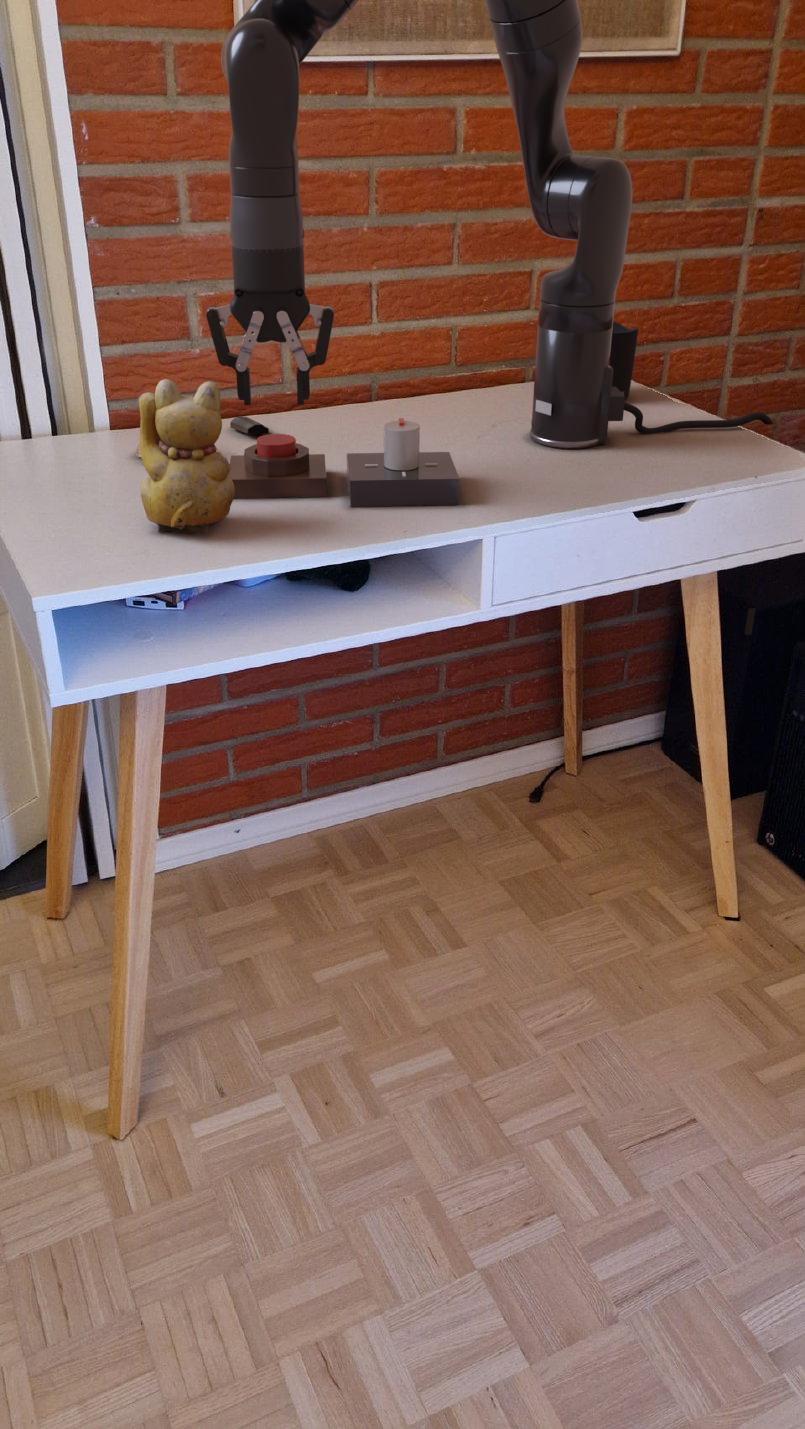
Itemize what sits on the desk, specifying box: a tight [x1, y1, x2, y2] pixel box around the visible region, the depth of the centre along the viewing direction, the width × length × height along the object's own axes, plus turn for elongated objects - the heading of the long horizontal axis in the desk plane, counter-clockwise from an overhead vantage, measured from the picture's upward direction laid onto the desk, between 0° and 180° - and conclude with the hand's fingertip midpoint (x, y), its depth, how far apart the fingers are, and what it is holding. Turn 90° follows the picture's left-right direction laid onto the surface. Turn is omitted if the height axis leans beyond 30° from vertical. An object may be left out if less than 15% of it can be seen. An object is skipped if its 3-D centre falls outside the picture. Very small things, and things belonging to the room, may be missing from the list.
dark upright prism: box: [609, 320, 640, 401], centre depth 169 cm, size 9×9×10 cm
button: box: [256, 433, 297, 458], centre depth 134 cm, size 4×4×2 cm
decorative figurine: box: [138, 378, 235, 535], centre depth 120 cm, size 10×8×15 cm
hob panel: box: [346, 451, 461, 508], centre depth 134 cm, size 12×10×3 cm
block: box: [229, 415, 270, 435], centre depth 154 cm, size 4×6×2 cm, turn 32°
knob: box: [383, 417, 421, 471], centre depth 132 cm, size 4×4×5 cm
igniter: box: [228, 442, 328, 499], centre depth 135 cm, size 11×9×4 cm
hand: (274, 403), depth 131 cm, fingers open, 5 cm apart
